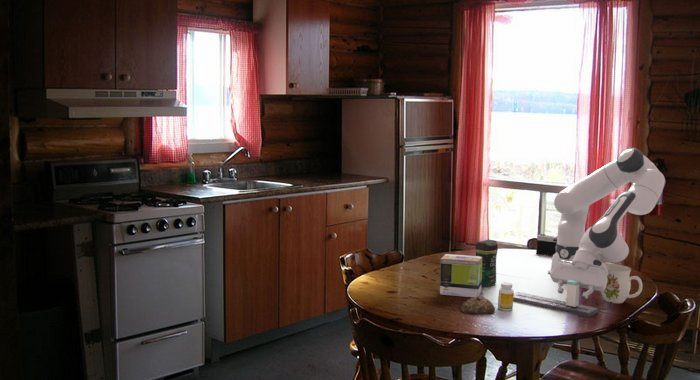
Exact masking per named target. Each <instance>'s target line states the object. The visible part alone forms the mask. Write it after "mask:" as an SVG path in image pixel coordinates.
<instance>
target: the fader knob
mask: <svg viewBox="0 0 700 380" xmlns="http://www.w3.org/2000/svg"><path fill="white" fill-rule="evenodd" d="M579 285H580V281H576V280H569V281H567V285H566V292H565V295H566V296H565V302H566V305H568V306H573V307H576V306H578V304H579V300H580V299H579V297H580V287H579Z"/></svg>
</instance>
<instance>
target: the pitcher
mask: <svg viewBox="0 0 700 380" xmlns="http://www.w3.org/2000/svg"><path fill="white" fill-rule="evenodd" d="M604 263H605V264H606V266H607V269H608V272H609V273H608V275H607V278H608V281H607V285H606V288H605V290H603V291H600V292H601V294H602V295H601V296H602V297H603V299H604V300H605V302H607V303H610V302H612V303H611V304H623V303H624V302H625V301H626V299H634V298H637V297H638V296H639V295H640V294H641V293H642V291H643V286H644V285H643V282H642V279H641V278H640V277H639V276H638V275H633V276H632V275H631V276H630V274H631V271H632V268H631V267H629V266H626V265H621V264H617V263H607V262H604ZM632 280H636V281H637V283H638V290H637V291H636V292H635V293H633V294H630V291H631V286H632Z"/></svg>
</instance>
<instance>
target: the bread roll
mask: <svg viewBox="0 0 700 380" xmlns="http://www.w3.org/2000/svg"><path fill="white" fill-rule="evenodd" d="M460 311H461V312H462V313H466V314H475V315H477V314H478V315H492V314H495V312H496V307H495V306H494V304H493V303H492V302H491V300H490V299H488V298H486V297H483V296H480V295H479V296H478V297H476V298H473V297H470V299H467V300H465V301H464V302H463V303H462V304H461V307H460Z"/></svg>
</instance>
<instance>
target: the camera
mask: <svg viewBox="0 0 700 380" xmlns="http://www.w3.org/2000/svg"><path fill="white" fill-rule="evenodd" d="M557 237H558V235H557V236H556V235H555V236H554V235H548V234H542V233H539V234H537V240H536V251H535V252H536V253H535V254H536V255H543V256H548V257H553V255H554V254H555V253H556V243H557Z"/></svg>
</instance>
